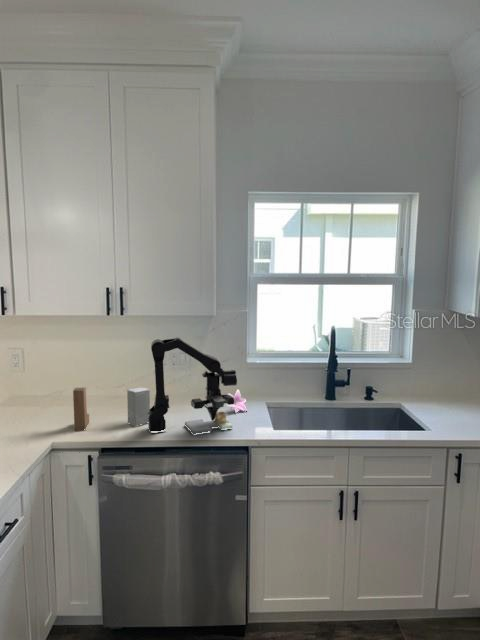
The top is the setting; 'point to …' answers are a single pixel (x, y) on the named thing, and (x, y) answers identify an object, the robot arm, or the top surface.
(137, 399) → the skincare box
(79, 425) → the wooden block
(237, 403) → the lily
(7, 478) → the top surface
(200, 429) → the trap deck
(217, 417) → the maple block
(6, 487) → the top surface
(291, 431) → the top surface
